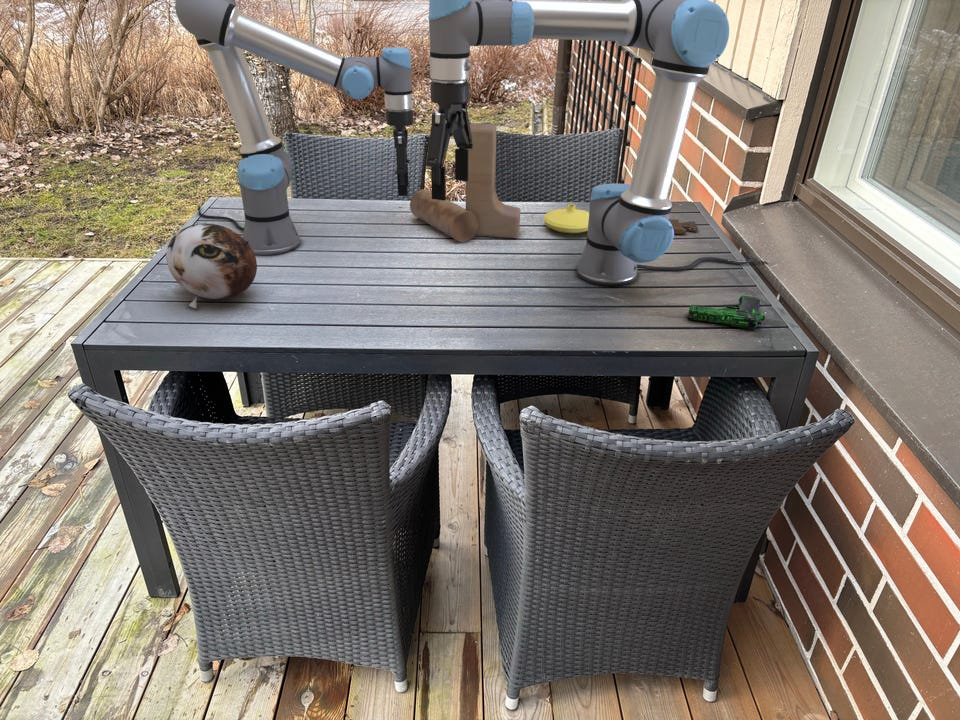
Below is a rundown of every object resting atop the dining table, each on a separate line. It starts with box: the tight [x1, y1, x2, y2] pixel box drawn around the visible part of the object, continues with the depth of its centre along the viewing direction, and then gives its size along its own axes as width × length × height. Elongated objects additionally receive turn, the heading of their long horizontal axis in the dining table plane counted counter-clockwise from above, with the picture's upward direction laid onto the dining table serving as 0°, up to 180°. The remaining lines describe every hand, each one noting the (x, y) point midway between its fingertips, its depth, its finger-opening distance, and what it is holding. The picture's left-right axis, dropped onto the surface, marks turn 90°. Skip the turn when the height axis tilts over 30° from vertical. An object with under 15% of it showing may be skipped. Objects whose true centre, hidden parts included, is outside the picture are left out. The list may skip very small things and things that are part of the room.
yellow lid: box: [543, 203, 589, 234], centre depth 209 cm, size 16×16×7 cm
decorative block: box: [465, 122, 521, 239], centre depth 199 cm, size 8×15×30 cm, turn 82°
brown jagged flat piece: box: [668, 218, 698, 235], centre depth 212 cm, size 26×2×10 cm
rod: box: [409, 188, 478, 243], centre depth 207 cm, size 24×9×9 cm
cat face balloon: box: [165, 222, 258, 309], centre depth 165 cm, size 22×18×20 cm
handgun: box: [687, 295, 766, 331], centre depth 164 cm, size 16×3×15 cm
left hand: (403, 190), depth 207 cm, fingers open, 8 cm apart
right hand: (450, 189), depth 147 cm, fingers open, 13 cm apart
